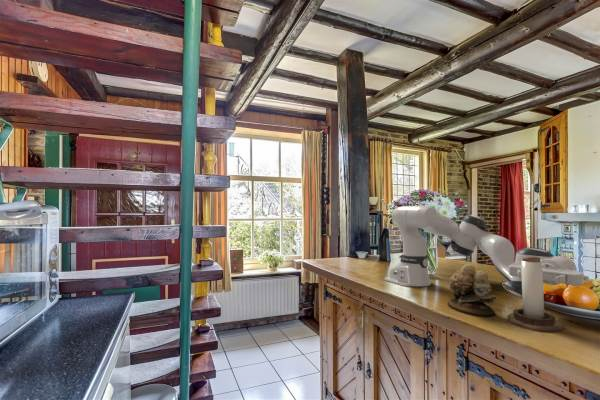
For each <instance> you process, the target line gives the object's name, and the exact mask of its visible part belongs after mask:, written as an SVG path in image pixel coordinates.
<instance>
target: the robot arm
mask: <svg viewBox="0 0 600 400" xmlns="http://www.w3.org/2000/svg"><path fill="white" fill-rule="evenodd" d="M391 220H392V222H393V224H394V225H395V226H396V227H397V229H398V231H399V233H400V236H401V239H402V254H401V255H399V256H398V259H400V260H399V262H397V263H396V264H395V265H394V266H392V267H391V268H390V271H389V275H388V276H387V277H384V280H385V281H386V282H390V283H394V284H397V285H400V286H404V287H428V286H430V285H432V282H431V280H430V275H429V269H428V264H429V257H428V255H427V239H426V238H425V236H423V235H422V234H421V233H420V231H419V229H422V230H423V231H425V232H426V233H429V234H432V235H434V236H435V235H436V236H439V237H444V238H447V239H449V241H448V243H449V244H450V248H451V249H452V251H453V252H454V253H455V254H457V255H459V256H463V257H470V256H472V255H473V254H474V252H475V249H476V248H477V246H478V248H479V250H481V252H483V254H485V255H486V256H488V257H489V258H490V259H491V261H492V263H493V265H494V267H495V269H496V270H497V271H498V272H499V274H500V275H501V276H503V278H505V279H506V280H507V281H508V282H509V283H510V285H511V287H512V288H513V289H514V290H515V292H517V293H519V294H521V295H522V275H521V260H523V257H524V256H531V257H539V258H540V261H541V262H542V270H543V284H545V285H549V286H555V285H556V286H558V285H559V284H565V285H570V286H571V285H572V286H576V287H577V286H580V287H581V286H583V285H584V284H585V280H587V281H588V280H589V278H590V276H588V275H584V272H583V271H578V270H577V268H578V267H577V265H576V263H575V261H573V259H571V258H568V257H566V256H561V255H560V256H559V255H553V253H552V252H550V251H548V250H546V249H543V248H540V247H539V248H537V247H523V248H520V249H518V250H517V251H516V252H515V247H514V245H513V243H512V242H511V241H510V240H509V239H508V238H506V237H503V236H502V235H498V234H494V233H490V232H488V231H487V230H489V228H488V227H487V223H486V222H485V220H484V219H482V218H481V217H479V216H478V215H474V214H467V215H465V216H464V217H463V218H462V220H461V223H460V224H458V223H457V222H456V221H455V220H453V219H452V218H450V217H448V216H447V215H443V214H441V213H439V212H438V211H437V209H436V207H432V206H429V205H428V206H427V205H402V206H397V207H395V208H394V209H393V210H392V212H391Z"/></svg>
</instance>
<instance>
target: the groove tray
mask: <svg viewBox="0 0 600 400" xmlns="http://www.w3.org/2000/svg"><path fill="white" fill-rule="evenodd" d="M507 321H508V322H509V323H510V324H513V325H514V326H517V327H520V328H523V329H526V330H531V331H535V332H543V333H544V332H545V333H556V332H561V331H562V330H563V324H562V322H560V321H558V320H557V319H556V316H554V315H553V314H552V313H549V312H547V311H544V319H540V318H532V317H528V316H524V315H523V307H522V308H515V309H514V310H512V313H508V314H507Z"/></svg>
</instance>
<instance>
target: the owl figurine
mask: <svg viewBox="0 0 600 400" xmlns="http://www.w3.org/2000/svg"><path fill="white" fill-rule="evenodd" d="M461 267H462V268H460V269H457V270H456V271H455V272H454V273H453V275H452V276H450V277H449V288H450V291H451V293H452V294H453V296H454V298H450V300H448V301H447V306H448V307H449V309H452V310H453V311H456V312H459V313H462V314H466V315H469V316H475V317H486V318H487V317H490V316H495V315H496V311H495V310H494V309H493V308H492V307H491V306H490V305H488V304H486V303H492V302H494V300H495V299H498V296H497V295H495V294H491V293H492V292H493V290H492V289H493V288H492V285H491V284H490V281H489V274H488V273H487V272H485V271H483V270H477V271H476V267H475V266H474V265H473V264H471V263H466V264H464V265H463V266H461Z"/></svg>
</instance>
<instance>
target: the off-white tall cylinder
mask: <svg viewBox="0 0 600 400" xmlns="http://www.w3.org/2000/svg"><path fill="white" fill-rule="evenodd" d="M521 275H522V294H521V295H522V298H521V299H522V300H521V301H522V308H523V315H524V316H528V317H532V318H540V319H544V312H545V299H544V298H545V297H544V283H543V270H542V262H541V261H540V258H539V257H531V256H524V257H523V260H521Z"/></svg>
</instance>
